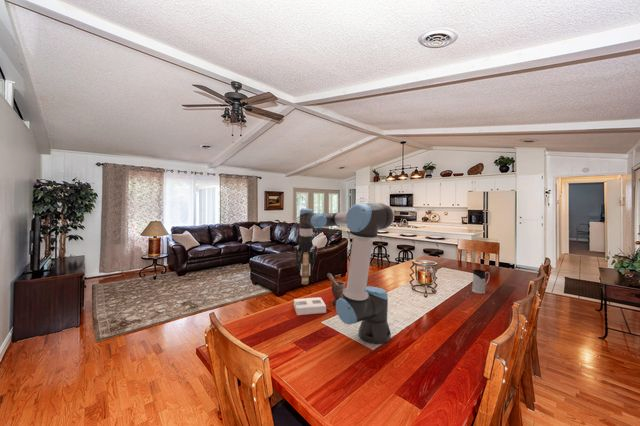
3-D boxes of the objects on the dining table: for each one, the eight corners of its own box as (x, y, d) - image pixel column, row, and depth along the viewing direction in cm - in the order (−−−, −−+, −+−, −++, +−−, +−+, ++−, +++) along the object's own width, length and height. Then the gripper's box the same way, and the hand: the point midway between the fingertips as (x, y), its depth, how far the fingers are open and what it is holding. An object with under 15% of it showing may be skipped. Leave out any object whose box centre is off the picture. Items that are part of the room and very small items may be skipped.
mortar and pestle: (334, 308, 160) (334, 275, 159) (324, 304, 166) (325, 272, 165) (347, 304, 167) (348, 272, 166) (338, 299, 174) (338, 269, 173)
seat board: (326, 312, 154) (326, 305, 154) (297, 315, 150) (297, 308, 150) (320, 303, 167) (320, 297, 167) (293, 305, 163) (293, 299, 163)
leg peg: (309, 284, 154) (309, 253, 153) (302, 284, 153) (302, 254, 152) (307, 282, 158) (308, 252, 157) (301, 282, 157) (301, 252, 156)
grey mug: (468, 289, 195) (469, 269, 194) (483, 288, 200) (484, 268, 199) (479, 294, 187) (480, 273, 186) (494, 292, 191) (495, 271, 190)
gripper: (318, 234, 159) (318, 272, 161) (290, 234, 155) (289, 273, 157) (321, 236, 152) (320, 276, 153) (292, 236, 148) (291, 277, 150)
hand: (305, 274), depth 155 cm, fingers closed on leg peg, 4 cm apart
